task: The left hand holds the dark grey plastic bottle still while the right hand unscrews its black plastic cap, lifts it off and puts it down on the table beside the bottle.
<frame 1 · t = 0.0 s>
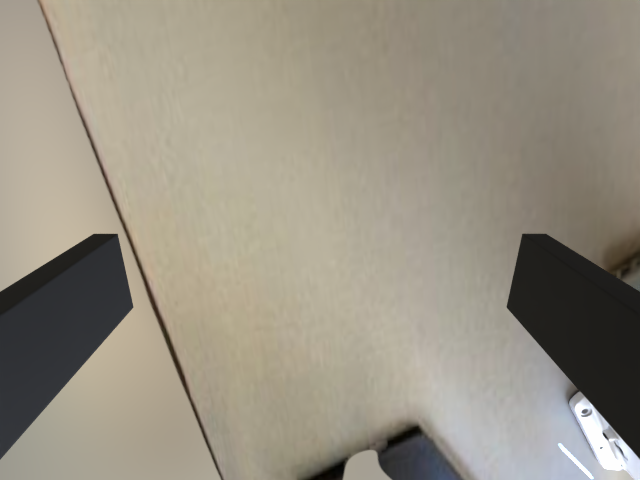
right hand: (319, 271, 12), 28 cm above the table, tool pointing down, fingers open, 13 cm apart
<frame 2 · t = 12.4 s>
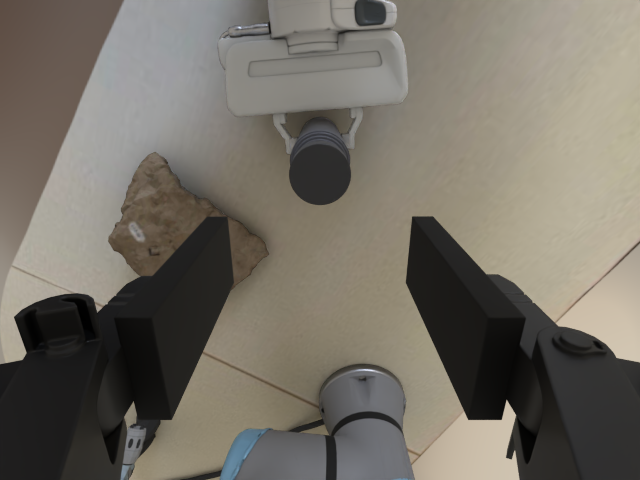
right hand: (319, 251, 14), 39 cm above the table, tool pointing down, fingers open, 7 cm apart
left hand: (320, 151, 44), fingers closed on bottle, 5 cm apart
cap: (320, 174, 27), point 25 cm above the table, screwed on, not yet turned
bottle: (319, 137, 50), on the table, touching left hand
robot: (147, 425, 69), on the table
stone: (193, 231, 55), on the table
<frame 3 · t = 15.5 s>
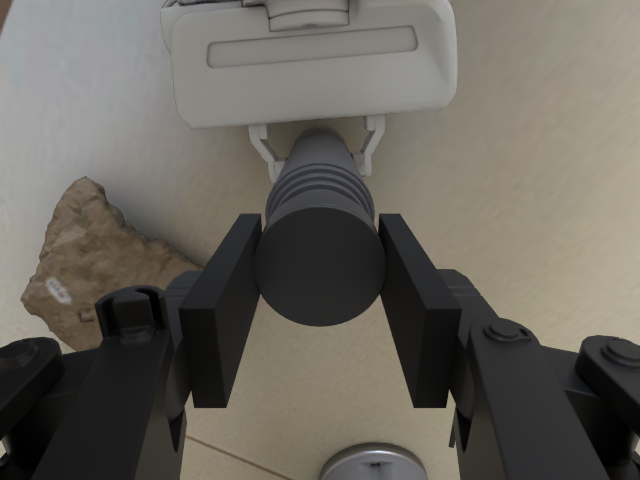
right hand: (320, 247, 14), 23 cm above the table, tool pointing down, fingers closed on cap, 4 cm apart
left hand: (321, 178, 30), fingers closed on bottle, 5 cm apart
cap: (320, 266, 13), point 25 cm above the table, screwed on, not yet turned, touching right hand
bottle: (319, 155, 36), on the table, touching left hand
stone: (149, 280, 41), on the table
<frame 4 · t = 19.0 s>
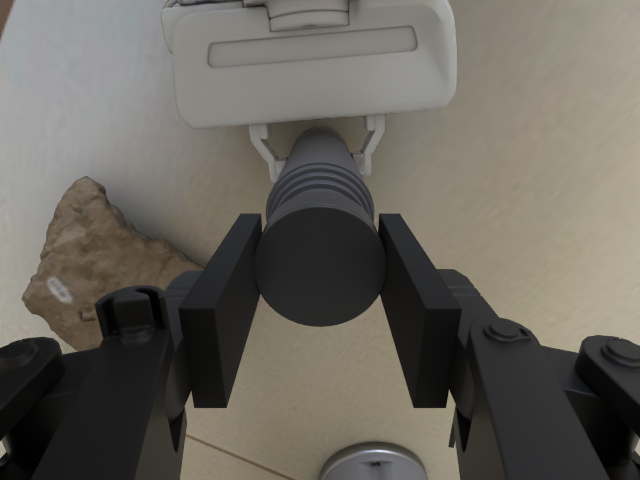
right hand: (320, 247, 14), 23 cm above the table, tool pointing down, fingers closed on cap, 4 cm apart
left hand: (321, 178, 30), fingers closed on bottle, 5 cm apart
cap: (320, 266, 13), point 25 cm above the table, turned 123° so far, risen 0.1 cm, still on its thread, touching right hand
bottle: (320, 154, 36), on the table, touching left hand
stone: (149, 279, 41), on the table
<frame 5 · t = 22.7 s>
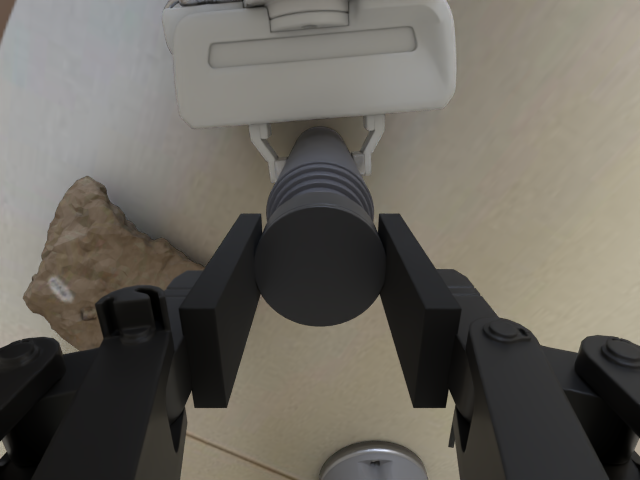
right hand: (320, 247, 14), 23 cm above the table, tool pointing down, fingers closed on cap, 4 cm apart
left hand: (321, 177, 30), fingers closed on bottle, 5 cm apart
cap: (320, 266, 13), point 25 cm above the table, turned 246° so far, risen 0.3 cm, still on its thread, touching right hand
bottle: (320, 154, 36), on the table, touching left hand
stone: (150, 279, 41), on the table
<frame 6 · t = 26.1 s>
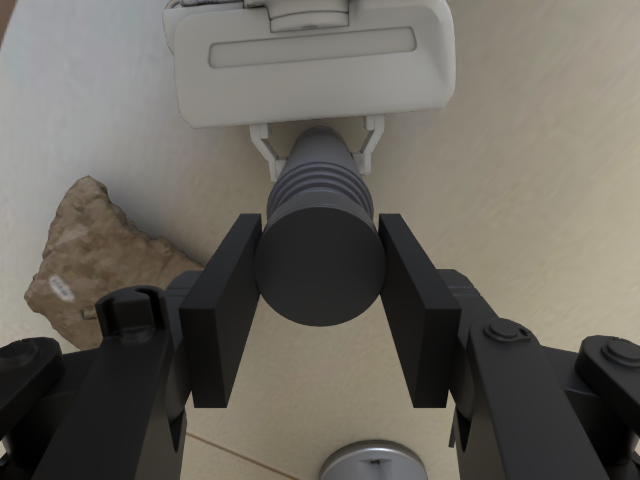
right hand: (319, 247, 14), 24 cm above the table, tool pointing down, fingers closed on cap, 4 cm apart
left hand: (321, 177, 30), fingers closed on bottle, 5 cm apart
cap: (320, 266, 13), point 25 cm above the table, turned 369° so far, risen 0.4 cm, still on its thread, touching right hand
bottle: (320, 154, 36), on the table, touching left hand
stone: (150, 278, 41), on the table
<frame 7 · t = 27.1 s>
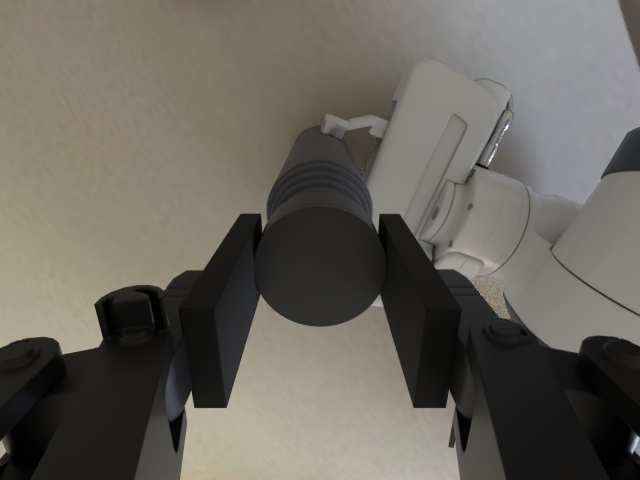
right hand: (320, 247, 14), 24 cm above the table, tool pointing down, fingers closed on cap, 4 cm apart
left hand: (309, 163, 30), fingers closed on bottle, 5 cm apart
cap: (320, 266, 13), point 25 cm above the table, off its thread, touching right hand
bottle: (319, 154, 36), on the table, touching left hand
when the right hand's fingers open (2 cm above the table, at t = 34.8 s): cap drops 2 cm, point 2 cm above the table.
when the left hand's fingers open (7 cm above the table, at t = 36.1 s): bottle stays where it is, on the table.
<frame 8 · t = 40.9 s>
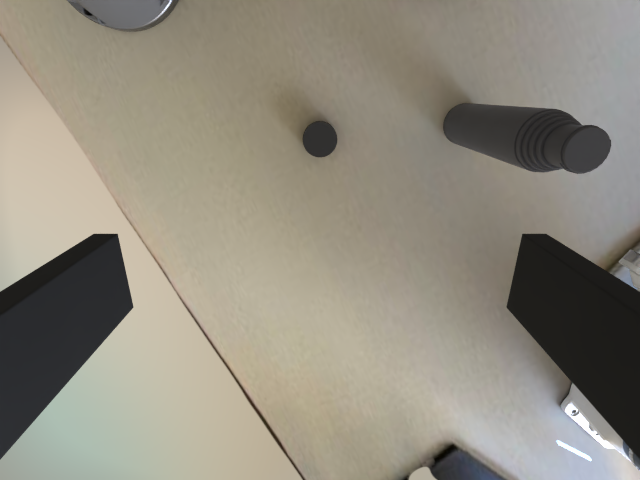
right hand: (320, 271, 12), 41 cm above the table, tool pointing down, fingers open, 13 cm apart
cap: (319, 139, 49), point 2 cm above the table, off its thread
bottle: (463, 124, 49), on the table
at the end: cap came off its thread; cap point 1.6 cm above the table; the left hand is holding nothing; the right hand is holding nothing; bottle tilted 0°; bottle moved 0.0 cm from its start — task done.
